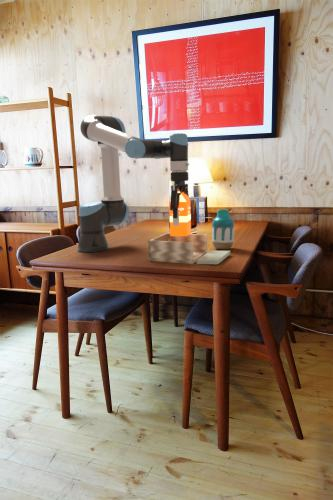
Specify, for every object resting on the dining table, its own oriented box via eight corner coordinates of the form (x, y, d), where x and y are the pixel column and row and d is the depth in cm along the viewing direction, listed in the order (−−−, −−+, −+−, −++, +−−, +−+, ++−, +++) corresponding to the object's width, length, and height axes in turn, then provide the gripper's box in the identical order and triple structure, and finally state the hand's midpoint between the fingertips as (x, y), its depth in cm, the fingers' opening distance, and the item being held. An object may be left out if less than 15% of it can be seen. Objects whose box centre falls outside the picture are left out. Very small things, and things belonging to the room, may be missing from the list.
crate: (148, 261, 166) (148, 240, 164) (167, 251, 184) (166, 232, 182) (192, 264, 158) (192, 243, 156) (207, 254, 176) (207, 234, 174)
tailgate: (196, 260, 158) (217, 260, 154) (210, 250, 175) (230, 250, 171) (196, 263, 158) (218, 264, 154) (210, 253, 175) (230, 254, 171)
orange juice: (169, 236, 165) (168, 188, 161) (174, 232, 174) (173, 187, 170) (187, 236, 163) (186, 188, 159) (191, 232, 172) (190, 187, 168)
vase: (208, 248, 188) (207, 209, 184) (227, 246, 192) (227, 208, 188) (218, 252, 179) (218, 211, 175) (238, 250, 182) (238, 210, 178)
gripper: (177, 171, 152) (179, 228, 156) (196, 170, 171) (197, 220, 176) (160, 172, 155) (162, 227, 159) (180, 171, 174) (181, 220, 179)
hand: (180, 224), depth 168 cm, fingers closed on orange juice, 9 cm apart
